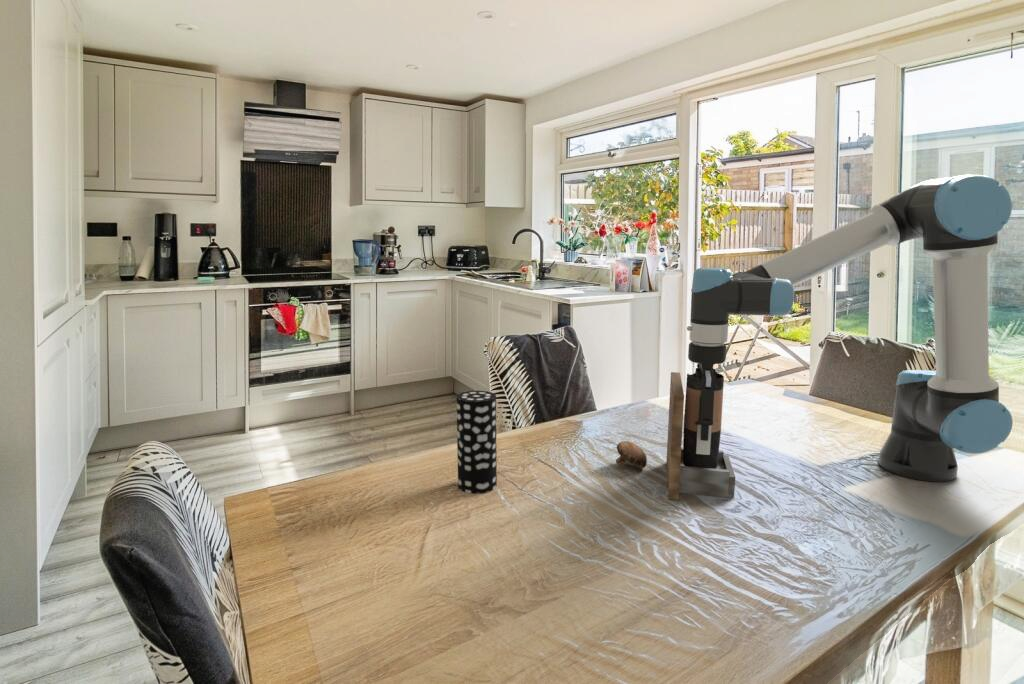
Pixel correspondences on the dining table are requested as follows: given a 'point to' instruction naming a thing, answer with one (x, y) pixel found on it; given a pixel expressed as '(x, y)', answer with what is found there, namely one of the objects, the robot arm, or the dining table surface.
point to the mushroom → (630, 455)
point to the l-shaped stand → (677, 473)
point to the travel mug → (693, 415)
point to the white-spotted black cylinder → (476, 441)
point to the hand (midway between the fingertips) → (701, 446)
